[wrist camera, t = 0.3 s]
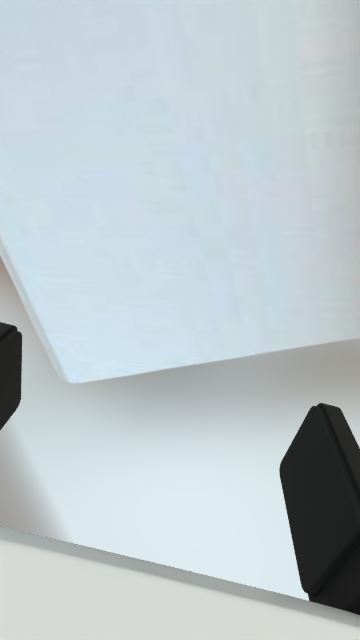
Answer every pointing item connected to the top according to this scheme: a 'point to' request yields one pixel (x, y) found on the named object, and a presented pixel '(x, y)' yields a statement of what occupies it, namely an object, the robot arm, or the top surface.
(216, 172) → the top surface
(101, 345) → the top surface
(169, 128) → the top surface
